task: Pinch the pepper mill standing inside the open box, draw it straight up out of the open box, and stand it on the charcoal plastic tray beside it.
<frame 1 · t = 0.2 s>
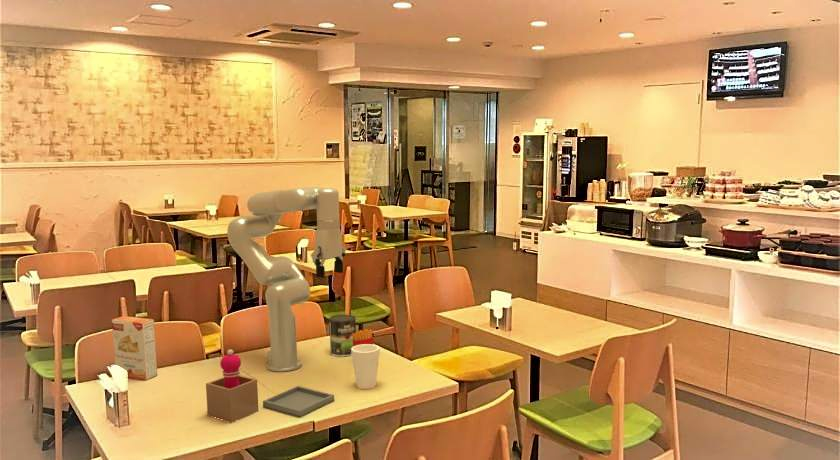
hand: (329, 274, 232), 37 cm above the table, tool pointing down, fingers open, 9 cm apart
coffee can: (343, 353, 265), on the table
pepper mill: (233, 413, 207), resting in open box
open box: (233, 413, 207), on the table
french fries: (363, 361, 255), on the table
tray: (299, 404, 214), on the table
foam cup: (366, 386, 229), on the table
cracker box: (136, 376, 242), on the table
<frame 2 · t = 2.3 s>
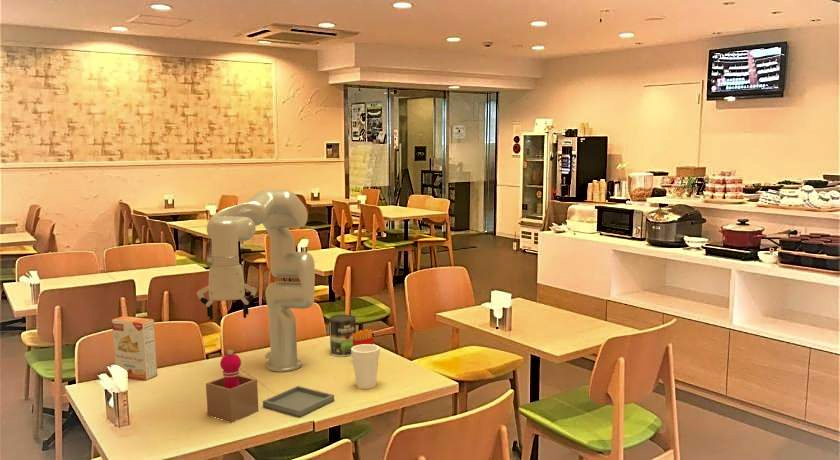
hand: (228, 317, 203), 30 cm above the table, tool pointing down, fingers open, 9 cm apart
nothing on the table moved.
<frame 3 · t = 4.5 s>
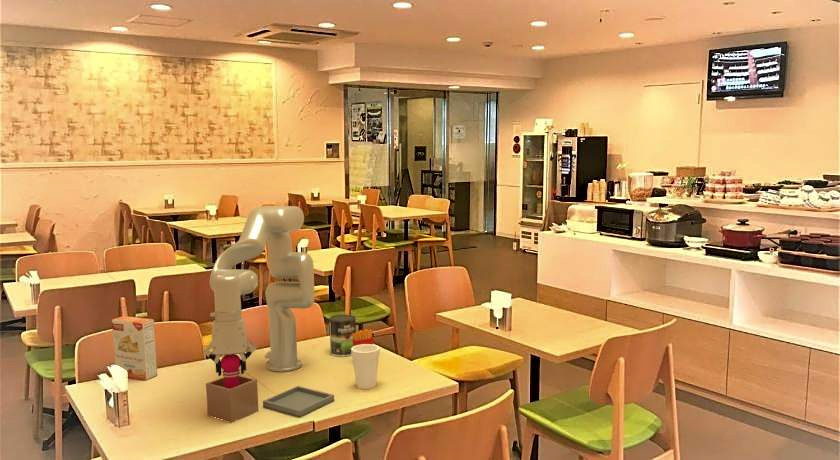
hand: (231, 373, 205), 13 cm above the table, tool pointing down, fingers closed on pepper mill, 6 cm apart
pepper mill: (233, 413, 207), resting in open box, touching gripper
everything else where it was.
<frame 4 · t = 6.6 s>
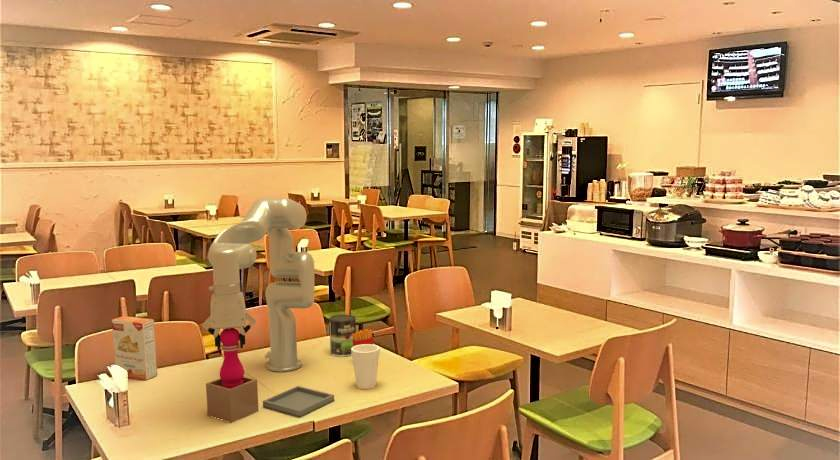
hand: (230, 347, 205), 21 cm above the table, tool pointing down, fingers closed on pepper mill, 6 cm apart
pepper mill: (232, 387, 207), point 8 cm above the table, touching gripper
everything else where it was.
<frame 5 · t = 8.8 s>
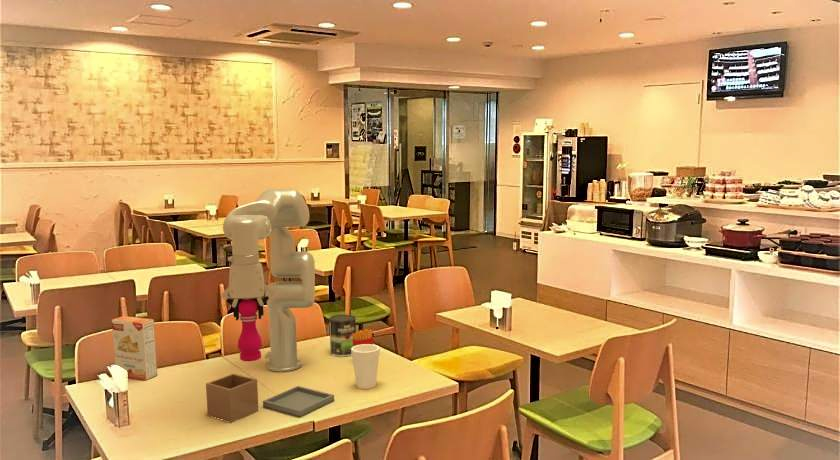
hand: (248, 318, 205), 29 cm above the table, tool pointing down, fingers closed on pepper mill, 6 cm apart
pepper mill: (250, 358, 207), point 16 cm above the table, touching gripper
everything else where it was.
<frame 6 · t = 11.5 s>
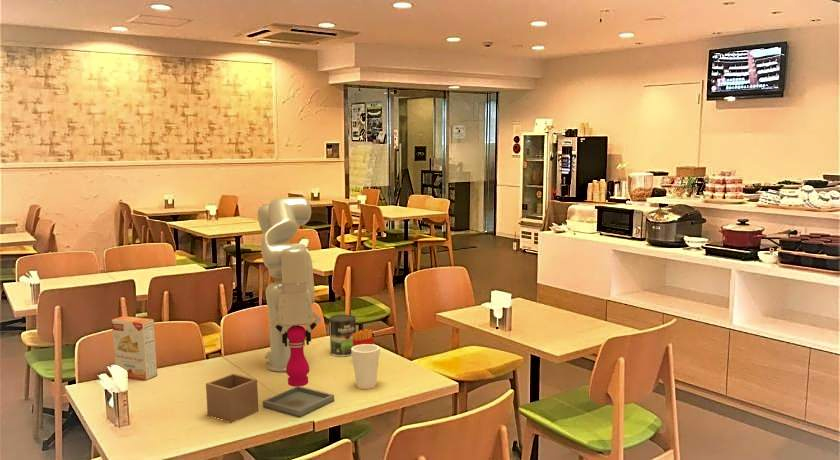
hand: (296, 344, 211), 19 cm above the table, tool pointing down, fingers closed on pepper mill, 6 cm apart
pepper mill: (298, 383, 213), point 7 cm above the table, touching gripper
everything else where it was.
when the fingers open (14 cm above the table, at t = 13.4 s): pepper mill drops 1 cm, resting on tray.
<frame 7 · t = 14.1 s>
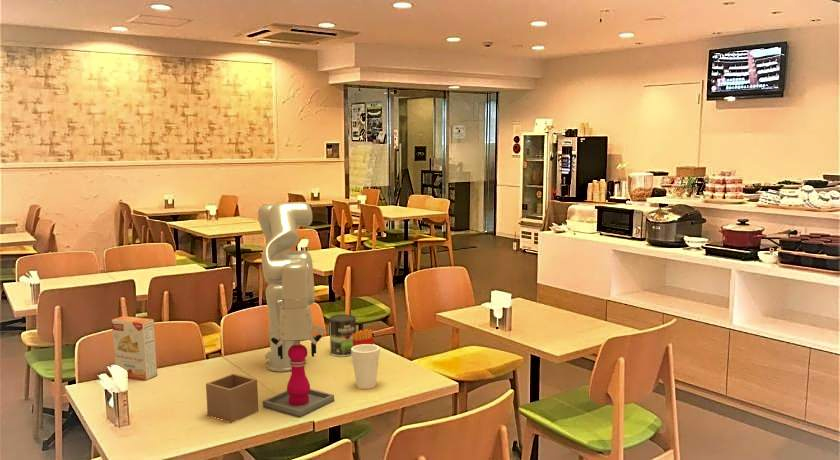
hand: (297, 356, 212), 15 cm above the table, tool pointing down, fingers open, 9 cm apart
pepper mill: (298, 402, 214), resting on tray
everything else where it was.
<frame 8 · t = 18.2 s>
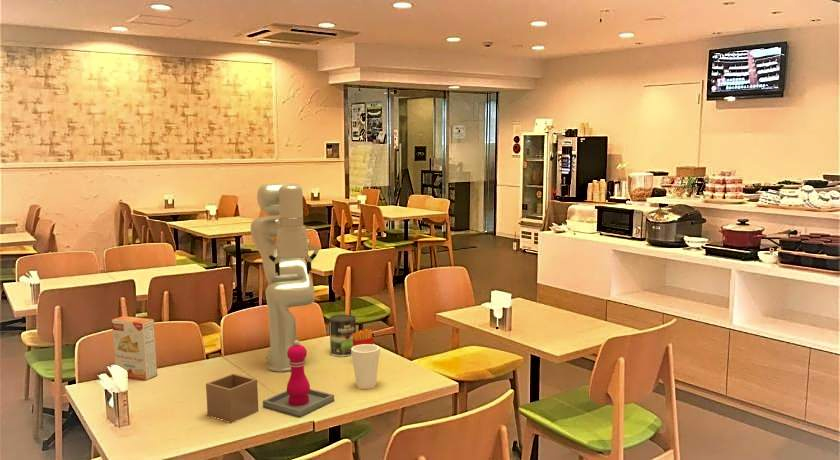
hand: (293, 274, 225), 38 cm above the table, tool pointing down, fingers open, 9 cm apart
nothing on the table moved.
at the end: pepper mill inside the target area on the tray (0.1 cm from its centre), point 0.4 cm above the tray's base; pepper mill tilted 0°; the gripper is holding nothing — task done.
